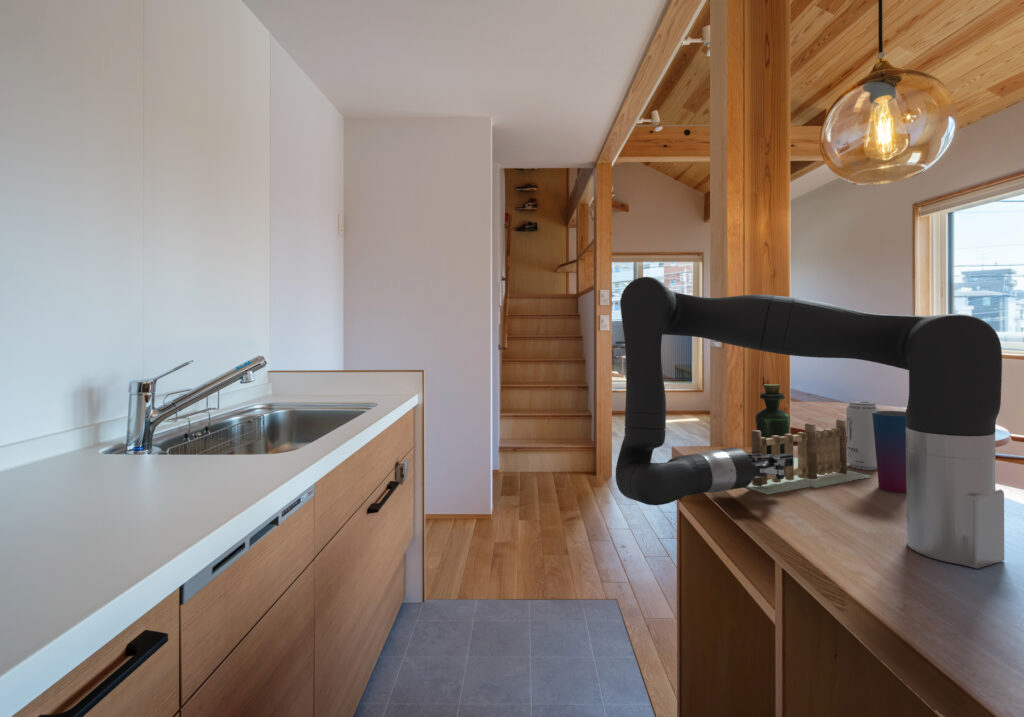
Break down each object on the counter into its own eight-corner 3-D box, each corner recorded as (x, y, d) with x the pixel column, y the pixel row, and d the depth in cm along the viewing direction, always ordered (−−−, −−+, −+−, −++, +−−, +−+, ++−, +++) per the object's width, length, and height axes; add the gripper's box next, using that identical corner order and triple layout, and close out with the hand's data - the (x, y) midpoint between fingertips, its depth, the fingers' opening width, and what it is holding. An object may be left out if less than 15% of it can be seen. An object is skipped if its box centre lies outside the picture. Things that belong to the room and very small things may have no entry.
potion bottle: (749, 450, 130) (747, 384, 129) (777, 448, 131) (776, 382, 130) (768, 457, 122) (766, 386, 121) (798, 455, 122) (797, 385, 122)
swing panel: (802, 475, 103) (801, 424, 102) (809, 477, 101) (808, 425, 100) (750, 484, 98) (749, 430, 98) (757, 486, 97) (756, 432, 96)
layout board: (870, 477, 102) (870, 475, 102) (771, 496, 93) (771, 493, 93) (785, 456, 122) (785, 454, 122) (696, 470, 113) (696, 468, 113)
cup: (925, 494, 91) (925, 415, 90) (884, 494, 92) (883, 415, 91) (904, 484, 97) (903, 410, 97) (866, 483, 99) (865, 410, 98)
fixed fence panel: (849, 475, 104) (848, 420, 104) (812, 482, 101) (811, 425, 100) (840, 473, 106) (839, 419, 106) (803, 479, 103) (802, 423, 102)
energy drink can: (843, 463, 114) (842, 400, 113) (874, 464, 112) (873, 400, 111) (852, 470, 108) (851, 403, 108) (884, 471, 106) (883, 403, 106)
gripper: (746, 457, 83) (821, 446, 89) (694, 443, 96) (762, 434, 101) (747, 500, 83) (821, 487, 89) (695, 480, 96) (763, 470, 101)
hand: (790, 459), depth 95 cm, fingers closed
